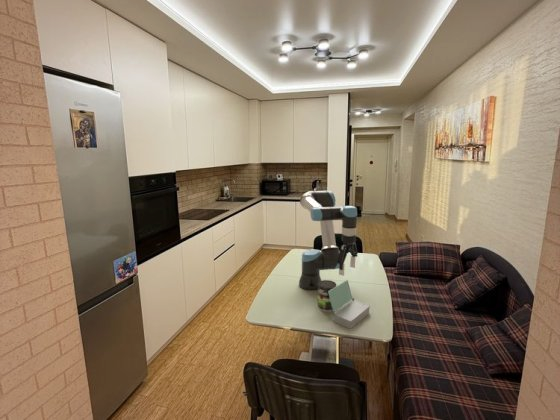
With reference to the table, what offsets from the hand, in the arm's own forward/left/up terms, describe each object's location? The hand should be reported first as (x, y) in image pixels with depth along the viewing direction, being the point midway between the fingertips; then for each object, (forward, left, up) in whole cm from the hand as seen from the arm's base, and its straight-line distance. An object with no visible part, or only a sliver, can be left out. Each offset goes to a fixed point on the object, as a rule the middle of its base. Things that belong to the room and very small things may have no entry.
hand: (347, 271), depth 170 cm
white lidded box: (+9, -9, -21) cm, 24 cm away
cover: (+2, -9, -10) cm, 14 cm away
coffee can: (-7, -9, -21) cm, 24 cm away
